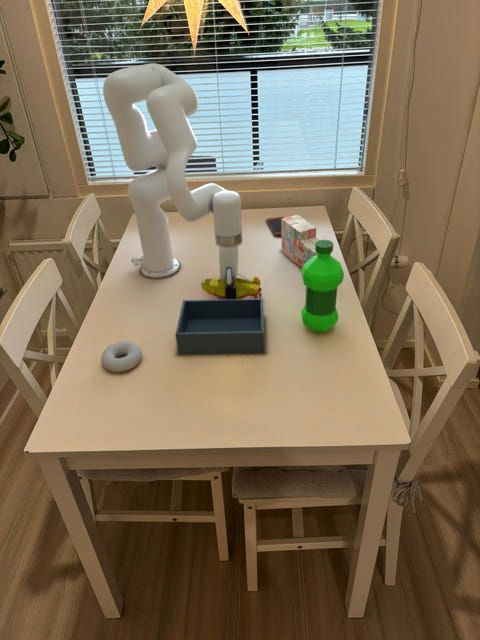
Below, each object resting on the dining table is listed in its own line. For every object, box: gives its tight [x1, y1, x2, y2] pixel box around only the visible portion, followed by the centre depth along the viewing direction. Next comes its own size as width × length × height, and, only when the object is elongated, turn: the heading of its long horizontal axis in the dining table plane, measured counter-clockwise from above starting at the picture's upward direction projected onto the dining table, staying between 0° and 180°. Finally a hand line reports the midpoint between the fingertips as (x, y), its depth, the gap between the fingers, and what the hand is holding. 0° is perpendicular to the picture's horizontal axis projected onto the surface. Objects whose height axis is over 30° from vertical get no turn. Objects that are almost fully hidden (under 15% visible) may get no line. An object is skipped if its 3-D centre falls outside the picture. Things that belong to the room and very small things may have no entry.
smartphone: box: [266, 216, 285, 237], centre depth 180 cm, size 7×1×15 cm
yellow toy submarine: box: [200, 273, 262, 299], centre depth 140 cm, size 6×18×10 cm, turn 79°
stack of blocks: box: [281, 214, 332, 269], centre depth 155 cm, size 21×6×12 cm, turn 23°
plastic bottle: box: [300, 239, 345, 334], centre depth 122 cm, size 10×10×25 cm
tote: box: [175, 297, 265, 355], centre depth 126 cm, size 22×15×7 cm
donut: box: [101, 341, 142, 373], centre depth 120 cm, size 10×3×10 cm
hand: (231, 291), depth 141 cm, fingers closed on yellow toy submarine, 6 cm apart
